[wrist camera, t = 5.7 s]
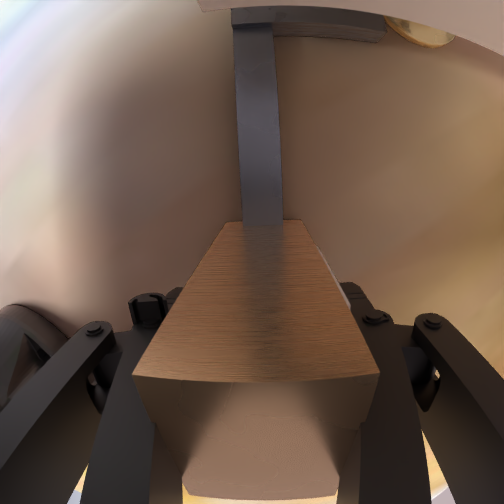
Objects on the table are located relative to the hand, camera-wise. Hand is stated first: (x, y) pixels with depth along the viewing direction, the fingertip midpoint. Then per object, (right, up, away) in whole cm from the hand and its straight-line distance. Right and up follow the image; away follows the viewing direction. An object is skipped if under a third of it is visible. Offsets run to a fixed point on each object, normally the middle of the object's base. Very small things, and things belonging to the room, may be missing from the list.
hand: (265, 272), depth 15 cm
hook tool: (+2, +6, -1) cm, 7 cm away
